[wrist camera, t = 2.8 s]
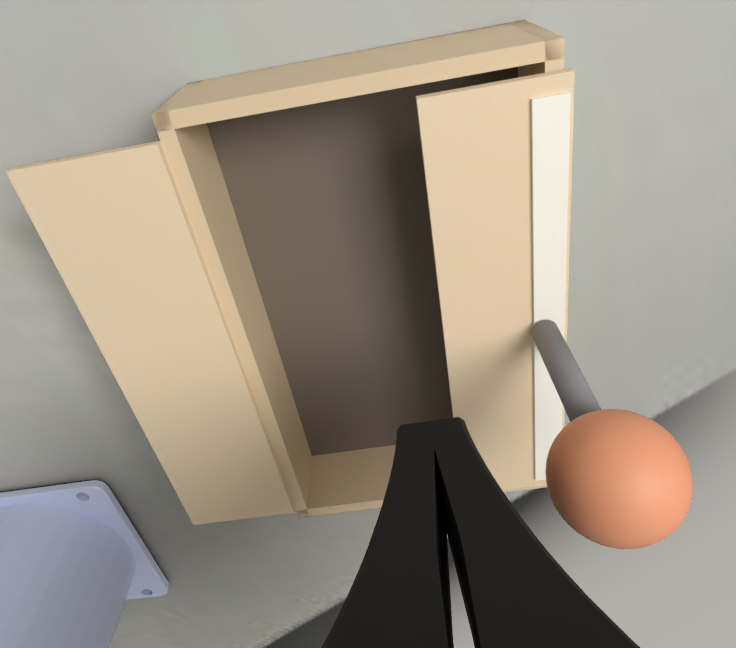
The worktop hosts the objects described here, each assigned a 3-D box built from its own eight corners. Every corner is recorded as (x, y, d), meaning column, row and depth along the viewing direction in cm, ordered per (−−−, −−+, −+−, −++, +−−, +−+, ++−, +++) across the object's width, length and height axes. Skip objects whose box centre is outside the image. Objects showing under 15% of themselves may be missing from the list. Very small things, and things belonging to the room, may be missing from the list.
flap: (461, 488, 19) (504, 712, 14) (415, 96, 12) (465, 223, 7) (579, 473, 19) (674, 697, 13) (601, 62, 12) (818, 165, 6)
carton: (219, 458, 23) (199, 536, 20) (62, 106, 16) (-9, 145, 13) (530, 417, 22) (557, 491, 19) (524, 19, 15) (568, 38, 12)
